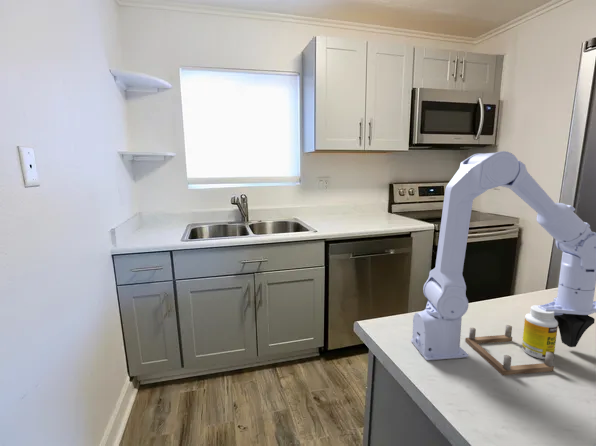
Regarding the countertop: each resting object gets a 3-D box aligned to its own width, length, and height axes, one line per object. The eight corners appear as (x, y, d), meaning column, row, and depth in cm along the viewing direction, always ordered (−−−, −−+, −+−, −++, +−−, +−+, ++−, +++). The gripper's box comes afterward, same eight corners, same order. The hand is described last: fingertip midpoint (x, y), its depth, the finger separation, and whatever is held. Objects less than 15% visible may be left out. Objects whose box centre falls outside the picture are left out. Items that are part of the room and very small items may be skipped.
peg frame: (502, 375, 60) (504, 359, 60) (465, 341, 72) (466, 327, 71) (553, 371, 61) (555, 355, 60) (508, 338, 73) (509, 324, 72)
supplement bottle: (547, 363, 63) (553, 317, 61) (517, 351, 68) (521, 307, 66) (558, 354, 66) (563, 310, 64) (528, 342, 71) (532, 301, 69)
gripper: (589, 277, 69) (581, 332, 72) (528, 280, 68) (522, 337, 71) (624, 289, 62) (614, 350, 65) (557, 293, 61) (549, 355, 64)
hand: (568, 344), depth 67 cm, fingers closed
